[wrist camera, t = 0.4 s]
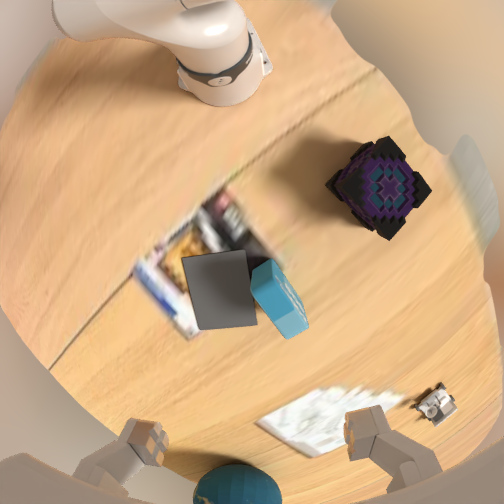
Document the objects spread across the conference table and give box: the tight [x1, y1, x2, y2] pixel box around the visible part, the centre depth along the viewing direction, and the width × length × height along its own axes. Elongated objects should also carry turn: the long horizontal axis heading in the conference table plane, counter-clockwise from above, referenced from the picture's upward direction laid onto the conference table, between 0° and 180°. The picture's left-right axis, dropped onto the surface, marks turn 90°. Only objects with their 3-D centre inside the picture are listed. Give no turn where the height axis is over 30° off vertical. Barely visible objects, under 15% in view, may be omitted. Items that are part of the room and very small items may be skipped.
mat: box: [182, 249, 258, 330], centre depth 56 cm, size 17×13×1 cm
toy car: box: [414, 382, 458, 427], centre depth 60 cm, size 18×10×12 cm
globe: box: [193, 464, 282, 504], centre depth 61 cm, size 30×30×30 cm
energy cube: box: [325, 136, 432, 241], centre depth 44 cm, size 12×12×12 cm
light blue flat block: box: [250, 259, 309, 339], centre depth 50 cm, size 12×4×12 cm, turn 35°
